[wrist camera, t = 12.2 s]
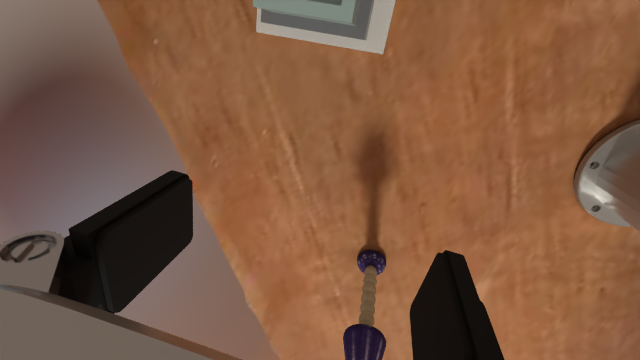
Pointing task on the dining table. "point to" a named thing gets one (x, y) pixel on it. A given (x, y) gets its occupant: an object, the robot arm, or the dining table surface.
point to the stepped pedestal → (328, 21)
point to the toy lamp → (366, 314)
